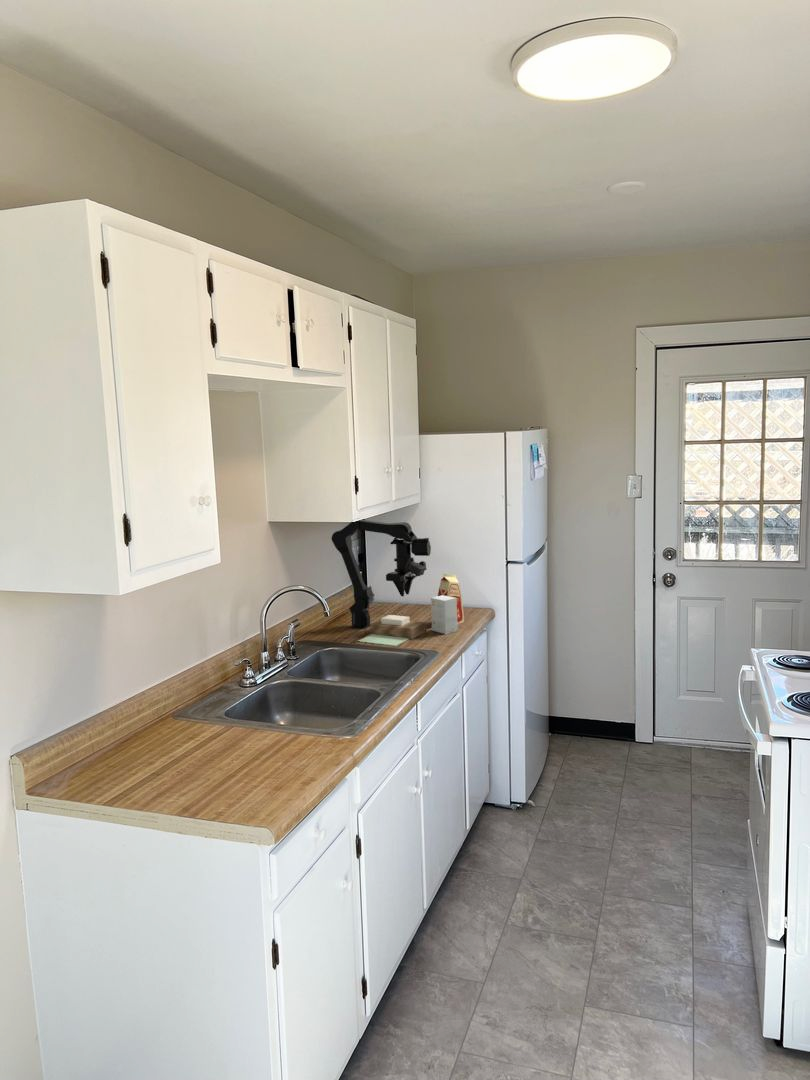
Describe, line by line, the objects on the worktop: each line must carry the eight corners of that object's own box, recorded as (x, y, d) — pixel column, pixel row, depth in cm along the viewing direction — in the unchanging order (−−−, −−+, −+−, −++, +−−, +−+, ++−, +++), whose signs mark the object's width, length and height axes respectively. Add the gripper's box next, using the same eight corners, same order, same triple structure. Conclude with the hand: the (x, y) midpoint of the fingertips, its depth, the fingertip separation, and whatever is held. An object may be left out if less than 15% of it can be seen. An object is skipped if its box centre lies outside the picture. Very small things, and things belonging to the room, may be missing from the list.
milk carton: (449, 626, 314) (448, 576, 311) (433, 622, 321) (432, 573, 318) (466, 622, 319) (465, 572, 316) (450, 618, 326) (449, 569, 323)
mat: (357, 641, 296) (357, 640, 296) (372, 634, 305) (371, 634, 305) (395, 646, 288) (395, 645, 288) (409, 639, 297) (409, 638, 297)
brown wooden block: (370, 634, 305) (370, 624, 305) (383, 628, 314) (383, 618, 314) (412, 639, 297) (411, 628, 296) (424, 632, 305) (424, 622, 305)
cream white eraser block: (381, 623, 305) (381, 618, 305) (389, 619, 311) (389, 614, 310) (402, 625, 301) (401, 620, 301) (409, 621, 306) (409, 616, 306)
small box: (457, 631, 306) (457, 597, 304) (445, 634, 302) (444, 600, 300) (443, 627, 312) (442, 594, 310) (431, 630, 308) (430, 597, 306)
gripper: (410, 560, 297) (411, 602, 299) (433, 552, 313) (434, 592, 316) (384, 559, 303) (385, 599, 305) (408, 551, 319) (409, 589, 321)
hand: (404, 595), depth 311 cm, fingers open, 4 cm apart
